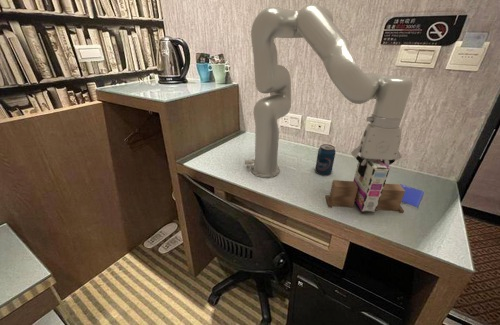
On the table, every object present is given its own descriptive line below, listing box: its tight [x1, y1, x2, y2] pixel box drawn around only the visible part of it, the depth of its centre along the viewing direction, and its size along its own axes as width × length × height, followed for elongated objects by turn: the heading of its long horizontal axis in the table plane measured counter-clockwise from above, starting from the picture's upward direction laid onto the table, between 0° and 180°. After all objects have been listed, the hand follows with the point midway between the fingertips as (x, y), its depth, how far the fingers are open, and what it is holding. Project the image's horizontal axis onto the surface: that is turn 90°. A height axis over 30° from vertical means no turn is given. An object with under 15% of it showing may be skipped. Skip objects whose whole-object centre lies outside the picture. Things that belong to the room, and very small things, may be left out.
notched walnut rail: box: [325, 179, 405, 214], centre depth 81 cm, size 24×6×8 cm, turn 84°
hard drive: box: [399, 183, 425, 210], centre depth 88 cm, size 2×8×12 cm
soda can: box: [315, 143, 336, 176], centre depth 101 cm, size 7×7×12 cm
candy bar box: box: [353, 152, 391, 213], centre depth 79 cm, size 11×5×16 cm, turn 178°
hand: (370, 174), depth 78 cm, fingers closed on candy bar box, 5 cm apart
